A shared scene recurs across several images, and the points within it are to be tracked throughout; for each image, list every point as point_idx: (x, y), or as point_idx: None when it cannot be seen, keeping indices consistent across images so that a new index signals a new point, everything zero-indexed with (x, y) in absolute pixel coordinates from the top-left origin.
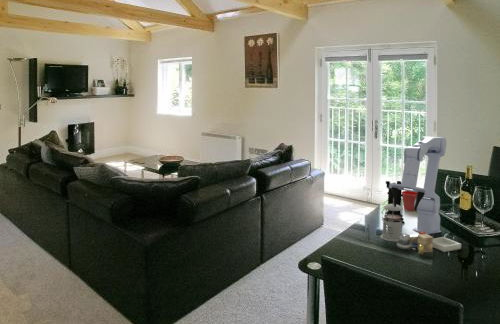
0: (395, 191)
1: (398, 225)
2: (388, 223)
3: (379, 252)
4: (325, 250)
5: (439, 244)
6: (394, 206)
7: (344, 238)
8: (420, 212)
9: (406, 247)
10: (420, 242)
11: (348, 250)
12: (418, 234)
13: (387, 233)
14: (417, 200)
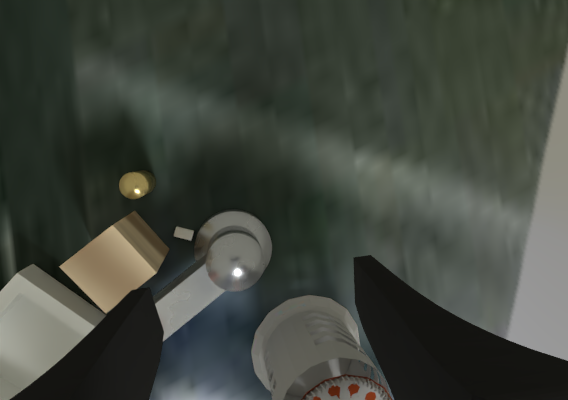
0: (502, 368)
1: (289, 369)
2: (349, 352)
3: (331, 112)
4: (549, 33)
5: (48, 299)
6: (369, 255)
7: (501, 227)
8: None
9: (218, 213)
10: (144, 240)
11: (461, 77)
12: (165, 334)
13: (332, 322)
14: (77, 374)
